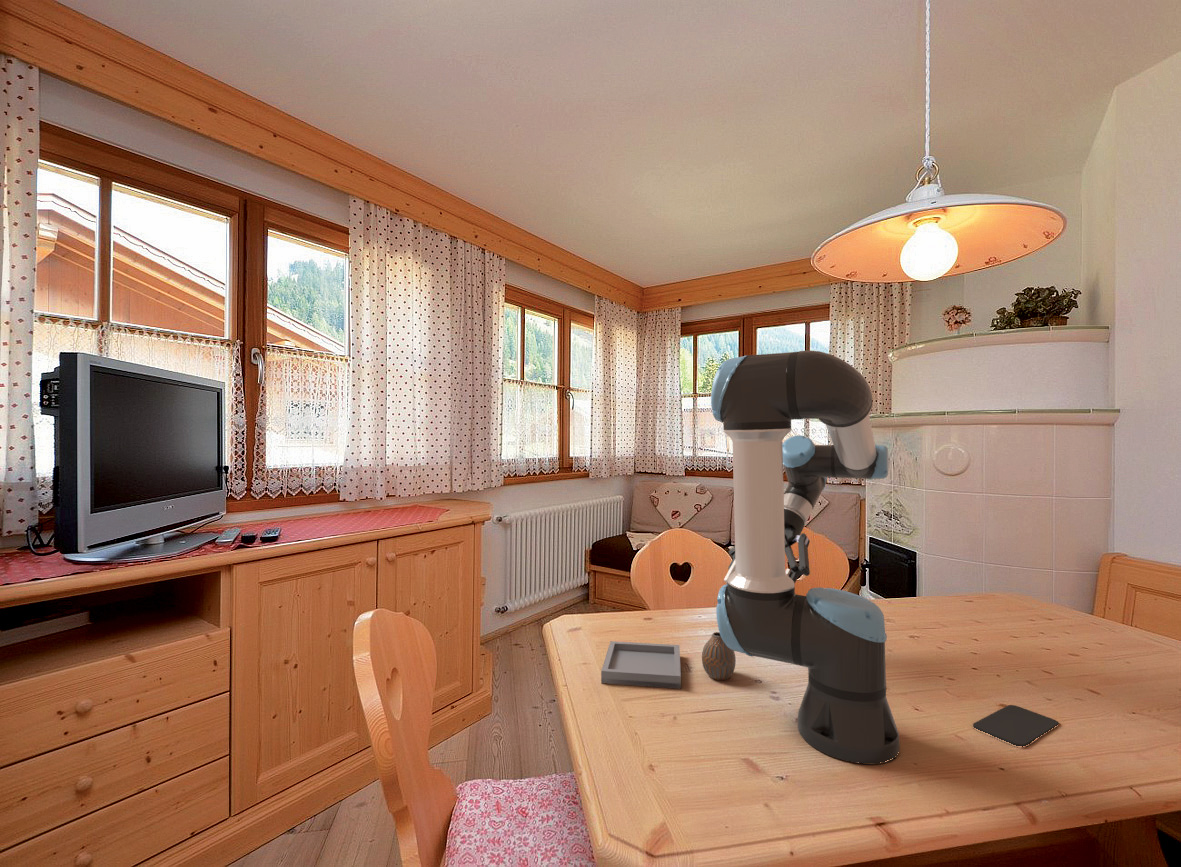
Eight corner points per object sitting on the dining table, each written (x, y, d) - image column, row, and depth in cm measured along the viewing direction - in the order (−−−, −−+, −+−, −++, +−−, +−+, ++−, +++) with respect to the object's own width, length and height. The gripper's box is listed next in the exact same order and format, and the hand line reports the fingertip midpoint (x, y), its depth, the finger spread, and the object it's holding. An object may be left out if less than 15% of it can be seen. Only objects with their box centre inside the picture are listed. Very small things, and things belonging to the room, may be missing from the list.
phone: (1061, 722, 89) (1022, 746, 82) (1062, 726, 89) (1022, 751, 82) (1010, 703, 96) (969, 724, 88) (1010, 708, 96) (969, 729, 88)
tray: (680, 688, 103) (680, 676, 103) (601, 683, 105) (601, 671, 105) (679, 656, 118) (679, 645, 119) (610, 651, 121) (610, 641, 121)
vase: (741, 675, 109) (741, 633, 109) (725, 686, 103) (725, 643, 104) (712, 665, 113) (712, 625, 113) (695, 676, 108) (695, 634, 108)
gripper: (846, 534, 116) (810, 614, 107) (753, 520, 136) (716, 587, 127) (833, 512, 113) (795, 593, 104) (740, 502, 133) (701, 569, 124)
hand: (751, 590), depth 116 cm, fingers open, 13 cm apart
